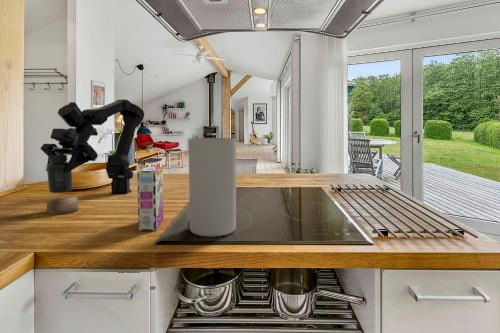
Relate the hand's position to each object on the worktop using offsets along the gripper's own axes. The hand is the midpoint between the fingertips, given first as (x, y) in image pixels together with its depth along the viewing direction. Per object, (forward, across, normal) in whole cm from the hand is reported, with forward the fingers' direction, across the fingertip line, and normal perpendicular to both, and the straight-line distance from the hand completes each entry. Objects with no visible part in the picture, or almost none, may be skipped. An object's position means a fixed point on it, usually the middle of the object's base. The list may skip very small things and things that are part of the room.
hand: (56, 171), depth 102 cm
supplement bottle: (+4, 0, +6) cm, 7 cm away
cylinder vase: (+12, +56, +7) cm, 57 cm away
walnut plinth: (+9, +1, +10) cm, 13 cm away
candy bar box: (+12, +37, +6) cm, 40 cm away
